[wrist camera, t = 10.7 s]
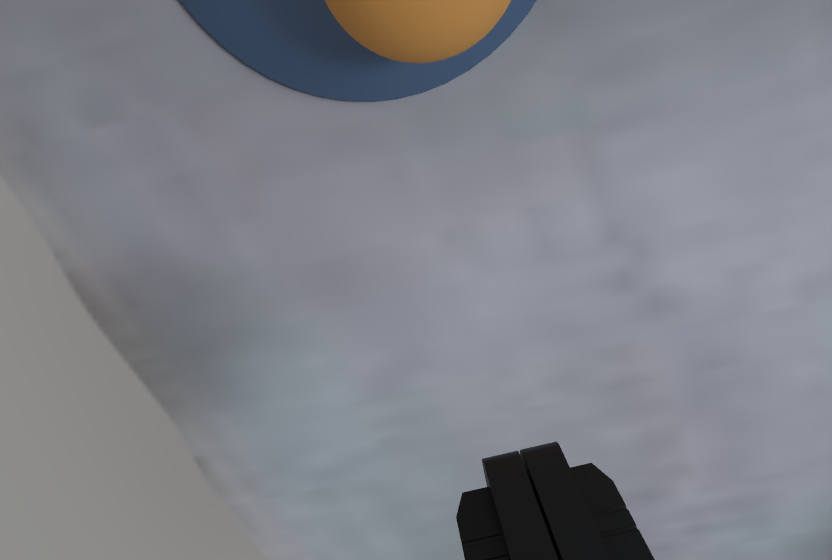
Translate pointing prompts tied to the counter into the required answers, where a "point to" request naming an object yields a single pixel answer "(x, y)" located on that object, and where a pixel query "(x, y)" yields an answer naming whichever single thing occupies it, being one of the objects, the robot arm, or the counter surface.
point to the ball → (417, 25)
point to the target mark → (331, 49)
